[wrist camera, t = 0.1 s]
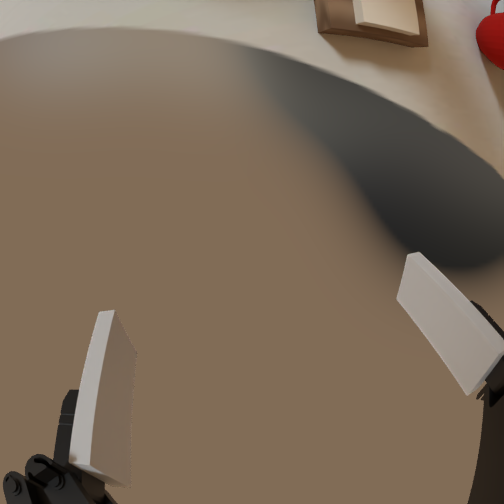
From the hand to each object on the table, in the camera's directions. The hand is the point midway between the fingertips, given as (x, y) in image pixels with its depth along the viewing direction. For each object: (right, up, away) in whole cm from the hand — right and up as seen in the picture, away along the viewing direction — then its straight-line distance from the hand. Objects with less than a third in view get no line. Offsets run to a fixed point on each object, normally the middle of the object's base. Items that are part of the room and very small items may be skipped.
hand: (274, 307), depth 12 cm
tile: (+16, +33, +12) cm, 39 cm away
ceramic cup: (+44, +45, +16) cm, 65 cm away
